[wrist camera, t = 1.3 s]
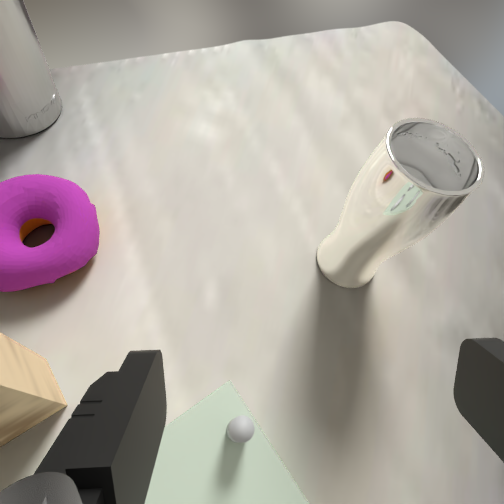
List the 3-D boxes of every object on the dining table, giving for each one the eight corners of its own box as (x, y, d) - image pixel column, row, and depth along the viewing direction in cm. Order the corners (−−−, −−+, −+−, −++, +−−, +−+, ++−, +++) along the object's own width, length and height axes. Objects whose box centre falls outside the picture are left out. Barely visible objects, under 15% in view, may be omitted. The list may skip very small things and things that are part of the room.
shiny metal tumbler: (384, 247, 37) (489, 139, 24) (370, 304, 33) (486, 214, 20) (322, 221, 37) (393, 101, 24) (303, 275, 34) (373, 169, 21)
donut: (-17, 312, 28) (-52, 290, 24) (-26, 211, 32) (-57, 178, 28) (115, 274, 31) (104, 249, 27) (91, 187, 35) (79, 154, 31)
